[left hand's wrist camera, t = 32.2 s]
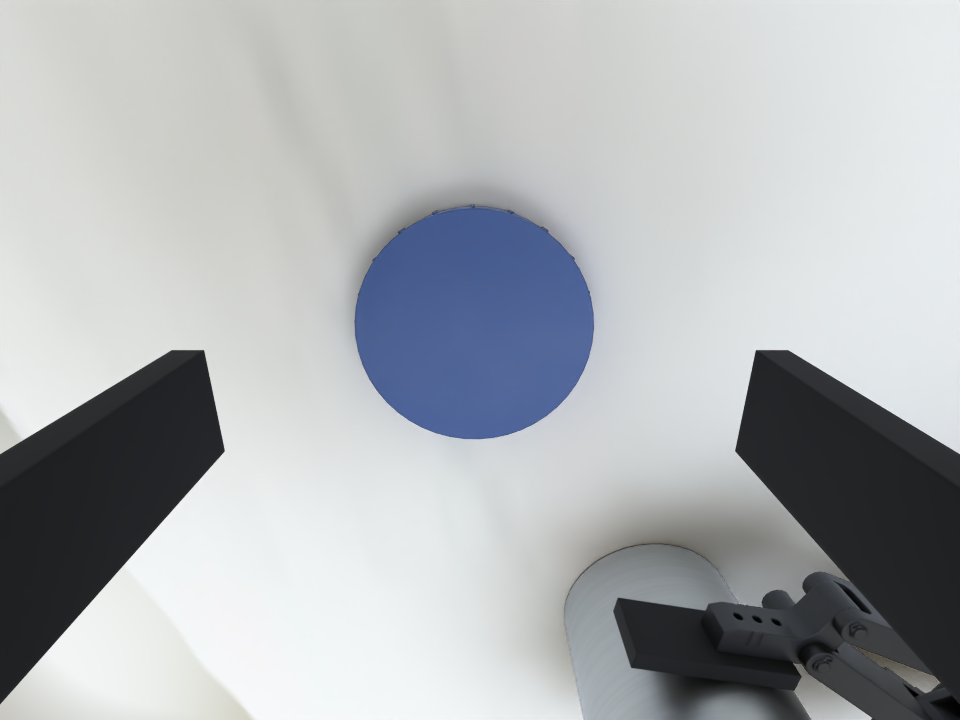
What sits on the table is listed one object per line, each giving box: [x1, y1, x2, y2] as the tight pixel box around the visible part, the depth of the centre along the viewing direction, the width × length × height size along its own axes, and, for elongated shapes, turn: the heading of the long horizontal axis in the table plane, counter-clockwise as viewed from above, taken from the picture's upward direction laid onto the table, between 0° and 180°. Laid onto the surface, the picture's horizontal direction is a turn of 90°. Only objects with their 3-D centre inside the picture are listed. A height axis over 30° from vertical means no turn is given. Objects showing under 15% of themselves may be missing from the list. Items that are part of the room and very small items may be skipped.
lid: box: [355, 204, 594, 439], centre depth 22 cm, size 10×10×2 cm
